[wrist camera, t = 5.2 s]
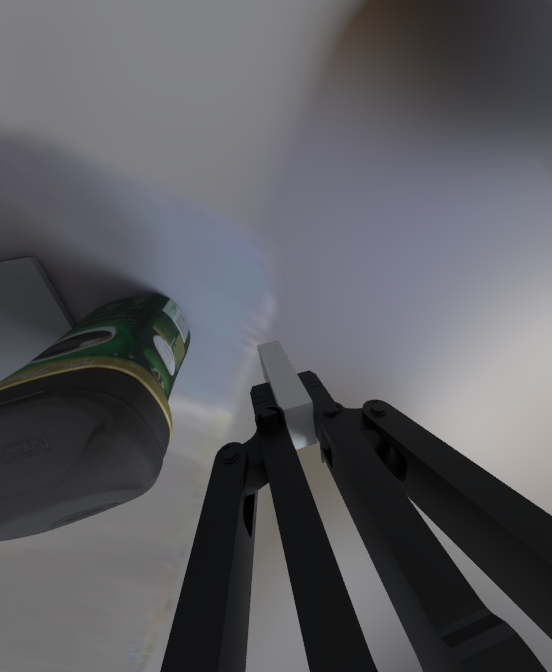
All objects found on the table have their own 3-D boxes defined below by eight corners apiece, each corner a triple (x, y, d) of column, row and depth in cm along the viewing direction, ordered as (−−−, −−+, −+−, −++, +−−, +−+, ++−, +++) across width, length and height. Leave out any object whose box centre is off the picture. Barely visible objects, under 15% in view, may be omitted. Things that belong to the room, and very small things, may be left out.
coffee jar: (118, 372, 27) (-26, 589, 11) (77, 309, 24) (-226, 493, 7) (200, 347, 29) (182, 511, 12) (174, 283, 25) (95, 394, 8)
